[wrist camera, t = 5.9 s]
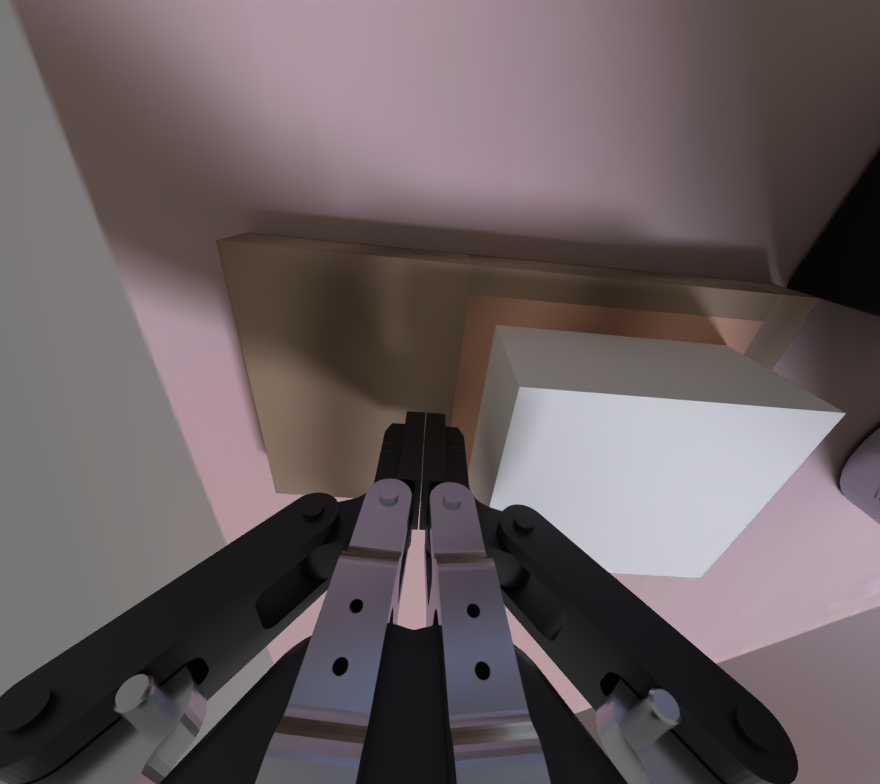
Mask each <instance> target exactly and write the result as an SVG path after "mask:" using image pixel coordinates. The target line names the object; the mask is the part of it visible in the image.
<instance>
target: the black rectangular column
mask: <svg viewBox="0 0 880 784" xmlns="http://www.w3.org/2000/svg"><path fill="white" fill-rule="evenodd" d="M787 288H788V289H792V290H795V291H798V292H802V293H805V294H808V295H811V296H815V297H818V298H820V299H823V300H826V301H829V302H833V303H836V304H839V305H842V306H846V307H849V308H852V309H856V310H859V311H862V312H865V313H869V314H872V315H875V316H878V317H880V152H879V153H878V155H877V156H876V158H875V159H874V161H873V162H872V164H871V165H870V167H869V168H868V169H867V171H866V172H865V174H864V175H863V177H862V178H861V180H860V181H859V182H858V184H857V185H856V187H855V188H854V190H853V191H852V193H851V194H850V195H849V197H848V198H847V200H846V201H845V203H844V204H843V206H842V207H841V209H840V210H839V211H838V213H837V214H836V216H835V217H834V219H833V220H832V222H831V223H830V224H829V226H828V227H827V229H826V230H825V232H824V233H823V235H822V236H821V238H820V239H819V240H818V242H817V243H816V245H815V246H814V248H813V249H812V251H811V252H810V253H809V255H808V256H807V258H806V259H805V261H804V262H803V264H802V265H801V267H800V268H799V269H798V271H797V272H796V274H795V275H794V277H793V278H792V280H791V281H790V282H789V284H788V285H787Z"/></svg>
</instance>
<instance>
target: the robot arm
mask: <svg viewBox="0 0 880 784" xmlns="http://www.w3.org/2000/svg"><path fill="white" fill-rule="evenodd" d="M424 427H425V412H414V411H407V413H406V421H405V424H400V423H392V424H391V425H390V426H389V427H388V428H387V429H386V430H385V433H384V438H383V443H382V447H381V452H380V457H379V461H378V466H377V471H376V475H375V480H374V483H373V484H372V485H371V486H370V487H369V489H368V490H367V492H366V493H365V494H363V495H361V496H360V497H357V498H354V499H351V500H346V501H341V502H337V500H336V499H335V498H334V497H333V496H331V495H329V494H327V493H321V492H316V493H310V494H307V495H305V496H302V497H301V498H299V499H297V500H296V501H294V502H293V503H291V504H290V505H288V506H287V507H285V508H284V509H282V510H281V511H279V512H277V513H276V514H274V515H273V516H271V517H270V518H268V519H267V520H265V521H264V522H262V523H261V524H259V525H258V526H256V527H255V528H253V529H251V530H250V531H248V532H247V533H245V534H244V535H242V536H241V537H239V538H238V539H236V540H235V541H233V542H232V543H230V544H229V545H227V546H225V547H224V548H222V549H221V550H219V551H218V552H216V553H215V554H214V555H212V556H210V557H209V558H207V559H206V560H204V561H202V562H201V563H199V564H198V565H197V566H195V567H193V568H192V569H190V570H189V571H187V572H186V573H184V574H183V575H181V576H180V577H178V578H177V579H175V580H173V581H172V582H171V583H169V584H167V585H166V586H164V587H163V588H161V589H160V590H158V591H157V592H155V593H154V594H152V595H150V596H149V597H148V598H146V599H144V600H143V601H141V602H140V603H138V604H137V605H135V606H134V607H132V608H131V609H129V610H127V611H126V612H124V613H123V614H122V615H120V616H118V617H117V618H115V619H114V620H112V621H111V622H109V623H108V624H106V625H105V626H103V627H101V628H100V629H98V630H97V631H95V632H94V633H92V634H91V635H89V636H88V637H86V638H85V639H83V640H82V641H80V642H79V643H77V644H75V645H74V646H72V647H71V648H69V649H68V650H66V651H65V652H63V653H62V654H60V655H59V656H57V657H56V658H54V659H53V660H51V661H49V662H48V663H46V664H45V665H43V666H42V667H40V668H39V669H37V670H36V671H34V672H33V673H31V674H30V675H28V676H26V677H25V678H24V679H22V680H21V681H19V682H18V683H16V684H15V685H14V686H12V687H11V688H10V689H9V690H7V691H6V692H5V693H4V694H3V695H2V696H1V697H0V784H790V783H792V782H793V781H794V780H795V778H796V776H797V773H798V761H797V756H796V753H795V750H794V747H793V745H792V743H791V741H790V738H789V737H788V735H787V733H786V732H785V730H784V728H783V727H782V726H781V724H780V723H779V721H778V720H777V719H776V718H775V716H774V715H773V714H772V713H771V712H770V711H769V710H768V709H767V708H766V707H765V706H764V705H763V704H762V703H761V702H760V701H759V700H758V699H756V698H755V697H754V696H753V695H752V694H751V693H749V692H748V691H747V690H746V689H745V688H744V687H742V686H741V685H740V684H739V683H738V682H737V681H735V680H734V679H733V678H732V677H731V676H730V675H728V674H727V673H726V672H725V671H724V670H722V669H721V668H720V667H719V666H718V665H717V664H715V663H714V662H713V661H712V660H711V659H710V658H708V657H707V656H706V655H705V654H704V653H703V652H701V651H700V650H699V649H698V648H697V647H696V646H694V645H693V644H692V643H691V642H690V641H688V640H687V639H686V638H685V637H684V636H683V635H681V634H680V633H679V632H678V631H677V630H676V629H674V628H673V627H672V626H671V625H670V624H669V623H667V622H666V621H665V620H664V619H663V618H661V617H660V616H659V615H658V614H657V613H656V612H654V611H653V610H652V609H651V608H650V607H649V606H647V605H646V604H645V603H644V602H643V601H642V600H640V599H639V598H638V597H637V596H636V595H635V594H633V593H632V592H631V591H630V590H629V589H627V588H626V587H625V586H624V585H623V584H622V583H620V582H619V581H618V580H617V579H616V578H615V577H613V576H612V575H611V574H610V573H609V572H608V571H606V570H605V569H604V568H603V567H602V566H601V565H599V564H598V563H597V562H596V561H595V560H593V559H592V558H591V557H590V556H589V555H588V554H586V553H585V552H584V551H583V550H582V549H581V548H579V547H578V546H577V545H576V544H575V543H574V542H572V541H571V540H570V539H569V538H568V537H567V536H565V535H564V534H563V533H562V532H561V531H559V530H558V529H557V528H556V527H555V526H554V525H552V524H551V523H550V522H549V521H548V520H547V519H545V518H544V517H543V516H542V515H541V514H540V513H538V512H537V511H536V510H534V509H532V508H530V507H528V506H525V505H520V504H515V505H510V506H508V507H506V508H505V509H504V510H503V511H500V510H497V509H494V508H491V507H488V506H486V505H484V504H482V503H481V502H479V501H478V500H477V499H476V498H475V497H474V496H473V494H472V493H471V490H470V487H469V479H468V469H467V460H466V450H465V441H464V436H463V434H462V433H461V431H460V430H459V428H458V427H446V421H445V414H444V413H429V412H427V415H426V427H425V439H424ZM423 446H424V451H423ZM422 464H423V469H422ZM421 482H422V488H421ZM840 487H841V492H842V493H843V494H844V496H845V497H846V498H847V499H848V500H849V501H850V502H852V503H853V504H854V505H855V506H857V507H858V508H859V509H861V510H862V511H863V512H864V513H866V514H867V515H868V516H869V517H871V518H872V519H873V520H875V521H876V522H877V523H878V524H880V428H879V429H878V430H876V431H875V432H874V433H873V434H872V435H871V436H869V437H868V438H867V439H866V440H865V441H864V442H863V443H862V444H861V445H860V446H859V447H858V448H857V449H856V450H855V452H854V453H853V454H852V455H851V457H850V458H849V459H848V461H847V463H846V465H845V467H844V468H843V470H842V474H841V478H840ZM420 494H421V507H420V526H419V530H425V547H424V565H425V588H426V627H425V628H421V629H417V630H411V629H407V628H405V627H402V626H399V625H397V619H398V612H399V605H400V599H401V593H402V586H403V580H404V574H405V568H406V562H407V556H408V549H409V547H410V543H411V532H412V529H415V530H417V529H418V517H419V505H420ZM325 591H327V593H326V596H325V599H324V602H323V605H322V608H321V611H320V613H319V616H318V619H317V622H316V625H315V628H314V631H313V634H312V636H310V637H308V638H306V639H304V640H303V641H301V642H300V643H298V644H297V645H295V646H294V647H293V648H291V649H290V650H289V651H288V652H287V653H285V654H284V655H283V656H282V657H281V658H280V659H279V660H278V661H277V662H276V663H275V664H274V665H273V666H272V667H271V668H270V669H269V670H268V672H267V673H266V674H265V675H264V676H263V677H262V678H261V679H260V680H259V681H258V682H257V683H256V684H255V685H254V686H253V687H252V688H251V689H250V690H249V691H248V692H247V693H246V694H245V695H244V696H243V697H242V698H241V699H240V701H238V703H237V704H236V705H235V706H234V707H233V708H232V709H231V710H230V711H229V712H228V713H227V714H226V715H225V716H224V717H223V718H222V719H221V720H220V721H219V722H218V723H217V724H216V726H214V727H213V728H212V730H210V731H209V732H208V734H207V735H206V736H205V737H204V738H203V739H202V740H201V741H200V742H199V743H198V744H197V745H196V746H195V747H194V748H193V749H192V750H191V751H190V752H189V753H188V754H187V755H186V756H185V757H184V758H183V759H182V760H181V761H180V762H179V763H178V765H177V766H176V767H175V768H174V769H173V770H172V771H171V772H170V770H171V769H172V767H173V766H174V764H175V763H176V761H177V760H178V759H179V758H180V756H181V755H182V754H183V753H184V752H185V751H186V750H187V748H188V747H189V746H190V745H191V743H192V742H193V741H194V739H195V738H196V736H197V734H198V732H199V731H200V728H201V726H202V724H203V721H204V718H205V714H206V706H207V702H206V701H207V700H208V699H210V698H211V697H212V696H213V695H214V694H215V693H216V692H217V691H218V690H219V689H220V688H221V687H223V686H224V685H225V684H226V683H227V682H228V681H229V680H230V679H231V678H232V677H233V676H234V675H235V674H236V673H238V672H239V671H240V670H241V669H242V668H243V667H244V666H245V665H246V664H247V663H249V662H250V660H252V659H253V658H254V657H255V656H256V655H257V654H258V653H259V652H260V651H262V649H264V648H265V647H266V646H267V645H268V644H269V643H270V642H271V641H272V640H273V639H275V638H276V637H277V636H278V635H279V634H280V633H281V632H282V631H283V630H284V629H285V628H286V627H288V626H289V625H290V624H291V623H292V622H293V621H294V620H295V619H296V618H297V617H298V616H299V615H301V614H302V613H303V612H304V611H305V610H306V609H307V608H308V607H309V606H310V605H311V604H312V603H314V602H315V601H316V600H317V599H318V598H319V597H320V596H321V595H322V594H323V593H324V592H325ZM504 605H505V606H506V607H507V608H508V609H509V611H510V612H511V613H512V614H513V615H514V616H515V618H516V619H517V620H518V621H519V622H520V623H521V625H522V626H523V627H524V628H525V629H526V630H527V632H528V633H529V634H530V635H531V636H532V637H533V638H534V640H535V641H536V642H537V643H538V644H539V645H540V647H541V648H542V649H543V650H544V651H545V652H546V654H547V655H548V656H549V657H550V658H551V659H552V661H553V662H554V663H555V664H556V665H557V666H558V668H559V669H560V670H561V671H562V672H563V673H564V674H565V676H566V677H567V678H568V679H569V680H570V681H571V683H572V684H573V685H574V686H575V687H576V688H577V690H578V691H579V692H580V693H581V694H582V695H583V697H584V698H585V699H586V700H587V701H588V702H589V704H590V705H591V706H592V707H593V708H594V709H595V710H596V712H597V717H596V720H597V728H598V733H599V736H600V739H601V742H602V744H603V746H604V748H605V750H606V752H607V754H608V755H609V757H610V758H611V760H612V761H613V763H614V764H615V766H616V767H617V768H616V767H615V766H614V765H613V764H612V762H611V761H610V759H609V758H608V757H607V756H606V754H605V753H604V752H603V750H602V749H601V748H600V746H599V745H598V744H597V743H596V741H595V740H594V739H593V738H592V736H591V735H590V734H589V732H588V731H587V730H586V728H585V727H584V726H583V725H582V723H581V722H580V721H579V719H578V718H577V717H576V716H575V714H574V713H573V712H572V710H571V709H570V708H569V707H568V705H567V704H566V703H565V701H564V700H563V699H562V698H561V696H560V695H559V694H558V692H557V691H556V690H555V688H554V687H553V686H552V685H551V683H550V682H549V681H548V679H547V678H546V677H545V676H544V674H543V673H542V672H541V670H540V669H539V668H538V667H537V665H536V664H535V663H534V662H533V661H532V660H531V659H530V658H529V657H528V656H527V655H526V654H525V653H524V652H523V651H522V650H520V649H519V648H518V647H517V646H515V645H514V644H513V642H512V637H511V633H510V628H509V624H508V620H507V615H506V611H505V606H504ZM617 769H618V770H617ZM169 772H170V773H169Z"/></svg>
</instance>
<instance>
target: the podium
mask: <svg viewBox="0 0 880 784" xmlns="http://www.w3.org/2000/svg"><path fill="white" fill-rule="evenodd" d="M216 242H217V246H218V250H219V255H220V259H221V263H222V267H223V271H224V276H225V280H226V284H227V288H228V292H229V297H230V301H231V305H232V309H233V314H234V318H235V322H236V326H237V330H238V335H239V339H240V343H241V347H242V351H243V356H244V360H245V364H246V368H247V373H248V377H249V381H250V385H251V389H252V394H253V398H254V402H255V406H256V410H257V415H258V419H259V423H260V427H261V432H262V436H263V440H264V444H265V448H266V453H267V457H268V461H269V465H270V469H271V474H272V478H273V482H274V486H275V490H276V493H284V494H300V495H307V494H310V493H316V492H321V493H327V494H329V495H331V496H333V497H347V498H357V497H360V496H361V495H363V494H365V493H366V492H367V490H368V489H369V487H370V486H371V485H372V484H373V483H374V480H375V475H376V471H377V466H378V461H379V457H380V452H381V447H382V443H383V438H384V433H385V430H386V429H387V428H388V427H389V426H390V425H391V424H392V423H400V424H405V421H406V413H407V411H414V412H425V427H426V415H427V412H429V413H444V414H445V421H446V427H458V428H459V430H460V431H461V433H462V434H463V436H464V441H465V450H466V460H467V469H468V471H469V466H470V460H471V455H472V450H473V444H474V439H475V433H476V428H477V423H478V417H479V412H480V407H481V401H482V396H483V391H484V385H485V380H486V374H487V369H488V364H489V358H490V353H491V348H492V342H493V337H494V332H495V326H496V325H504V326H515V327H526V328H537V329H549V330H560V331H571V332H582V333H593V334H605V335H616V336H627V337H638V338H650V339H661V340H672V341H683V342H694V343H706V344H717V345H727V346H729V347H731V348H733V349H734V350H736V351H738V352H740V353H741V354H743V355H745V356H747V357H748V358H750V359H752V360H754V361H755V362H757V363H759V364H761V365H762V366H764V367H766V368H768V369H769V370H772V369H773V367H774V366H775V364H776V363H777V361H778V360H779V358H780V357H781V356H782V354H783V353H784V351H785V350H786V348H787V347H788V345H789V344H790V342H791V341H792V339H793V338H794V336H795V335H796V334H797V332H798V331H799V329H800V328H801V326H802V325H803V323H804V322H805V320H806V319H807V317H808V316H809V315H810V313H811V312H812V310H813V309H814V307H815V306H816V304H817V303H818V301H819V300H820V298H818V297H815V296H811V295H808V294H805V293H802V292H798V291H795V290H792V289H788V288H785V287H782V286H779V285H775V284H768V283H758V282H747V281H737V280H727V279H716V278H706V277H696V276H685V275H675V274H665V273H654V272H644V271H633V270H623V269H613V268H602V267H592V266H582V265H571V264H561V263H551V262H540V261H530V260H519V259H509V258H499V257H488V256H478V255H468V254H457V253H447V252H437V251H426V250H416V249H406V248H395V247H385V246H374V245H364V244H354V243H343V242H333V241H323V240H312V239H302V238H292V237H281V236H271V235H260V234H250V233H245V234H241V235H237V236H233V237H229V238H225V239H221V240H217V241H216ZM425 427H424V439H425ZM423 451H424V446H423ZM422 469H423V464H422ZM421 488H422V482H421ZM420 502H421V494H420Z"/></svg>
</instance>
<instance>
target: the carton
mask: <svg viewBox="0 0 880 784" xmlns="http://www.w3.org/2000/svg"><path fill="white" fill-rule="evenodd" d="M845 414H846V413H845V412H843V411H841V410H840V409H838V408H836V407H834V406H833V405H831V404H829V403H827V402H826V401H824V400H822V399H820V398H819V397H817V396H815V395H813V394H812V393H810V392H808V391H806V390H805V389H803V388H801V387H799V386H797V385H796V384H794V383H792V382H790V381H789V380H787V379H785V378H783V377H782V376H780V375H778V374H776V373H775V372H773V371H771V370H769V369H768V368H766V367H764V366H762V365H761V364H759V363H757V362H755V361H754V360H752V359H750V358H748V357H747V356H745V355H743V354H741V353H740V352H738V351H736V350H734V349H733V348H731V347H729V346H727V345H717V344H706V343H694V342H683V341H672V340H661V339H650V338H638V337H627V336H616V335H605V334H593V333H582V332H571V331H560V330H549V329H537V328H526V327H515V326H504V325H496V326H495V332H494V337H493V342H492V348H491V353H490V358H489V364H488V369H487V374H486V380H485V385H484V391H483V396H482V401H481V407H480V412H479V417H478V423H477V428H476V433H475V439H474V444H473V450H472V455H471V460H470V466H469V471H468V479H469V487H470V490H471V493H472V494H473V496H474V497H475V498H476V499H477V500H478V501H479V502H481V503H482V504H484V505H486V506H488V507H491V508H494V509H497V510H500V511H503V510H504V509H505V508H506V507H508V506H510V505H515V504H520V505H525V506H528V507H530V508H532V509H534V510H536V511H537V512H538V513H540V514H541V515H542V516H543V517H544V518H545V519H547V520H548V521H549V522H550V523H551V524H552V525H554V526H555V527H556V528H557V529H558V530H559V531H561V532H562V533H563V534H564V535H565V536H567V537H568V538H569V539H570V540H571V541H572V542H574V543H575V544H576V545H577V546H578V547H579V548H581V549H582V550H583V551H584V552H585V553H586V554H588V555H589V556H590V557H591V558H592V559H593V560H595V561H596V562H597V563H598V564H599V565H601V566H602V567H603V568H604V569H605V570H606V571H608V572H609V573H622V574H640V575H657V576H675V577H693V578H701V577H702V576H703V575H704V573H705V572H706V571H707V570H708V569H709V568H710V567H711V565H712V564H713V563H714V562H715V561H716V560H717V559H718V558H719V556H720V555H721V554H722V553H723V552H724V551H725V550H726V549H727V547H728V546H729V545H730V544H731V543H732V542H733V541H734V539H735V538H736V537H737V536H738V535H739V534H740V533H741V532H742V530H743V529H744V528H745V527H746V526H747V525H748V524H749V523H750V521H751V520H752V519H753V518H754V517H755V516H756V515H757V513H758V512H759V511H760V510H761V509H762V508H763V507H764V506H765V504H766V503H767V502H768V501H769V500H770V499H771V498H772V496H773V495H774V494H775V493H776V492H777V491H778V490H779V489H780V487H781V486H782V485H783V484H784V483H785V482H786V481H787V480H788V478H789V477H790V476H791V475H792V474H793V473H794V472H795V470H796V469H797V468H798V467H799V466H800V465H801V464H802V463H803V461H804V460H805V459H806V458H807V457H808V456H809V455H810V454H811V452H812V451H813V450H814V449H815V448H816V447H817V446H818V444H819V443H820V442H821V441H822V440H823V439H824V438H825V437H826V435H827V434H828V433H829V432H830V431H831V430H832V429H833V428H834V426H835V425H836V424H837V423H838V422H839V421H840V420H841V418H842V417H843V416H844V415H845Z"/></svg>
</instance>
